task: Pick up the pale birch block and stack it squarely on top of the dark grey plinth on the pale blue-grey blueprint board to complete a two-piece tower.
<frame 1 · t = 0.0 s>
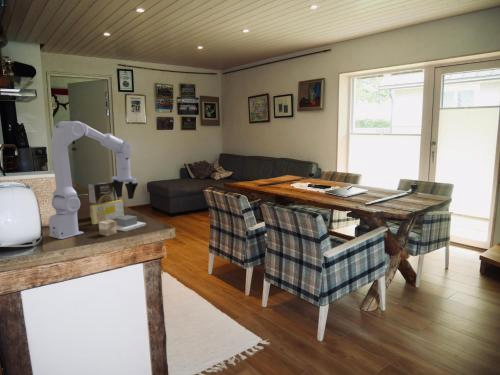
hand: (125, 197, 161), 10 cm above the countertop, tool pointing down, fingers open, 7 cm apart
birch block: (108, 233, 141), on the countertop
blueprint board: (127, 226, 151), on the countertop
candy box: (108, 220, 162), on the countertop
coffee box: (102, 217, 168), on the countertop
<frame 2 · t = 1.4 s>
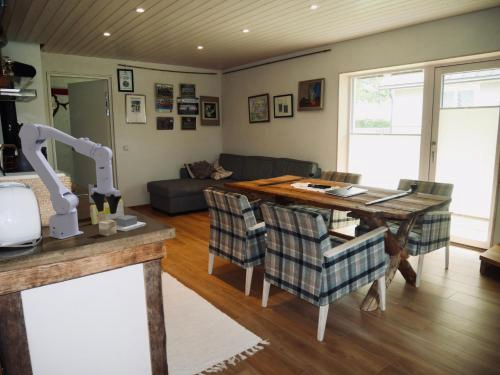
hand: (106, 212, 140), 8 cm above the countertop, tool pointing down, fingers open, 7 cm apart
nothing on the countertop moved.
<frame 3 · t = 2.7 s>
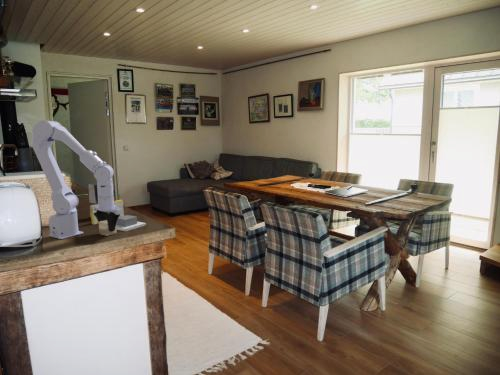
hand: (107, 230, 141), 1 cm above the countertop, tool pointing down, fingers closed on birch block, 4 cm apart
birch block: (108, 233, 141), on the countertop, touching gripper
everything else where it was.
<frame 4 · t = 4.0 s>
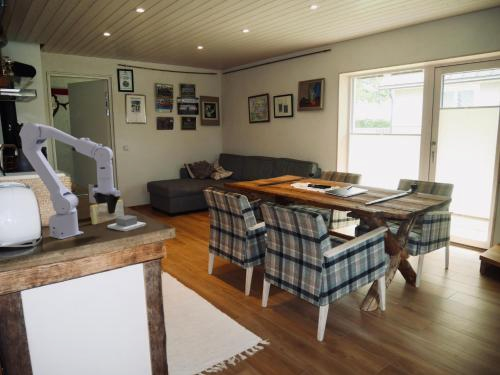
hand: (107, 212, 140), 8 cm above the countertop, tool pointing down, fingers closed on birch block, 4 cm apart
birch block: (107, 216, 140), point 7 cm above the countertop, touching gripper
everything else where it was.
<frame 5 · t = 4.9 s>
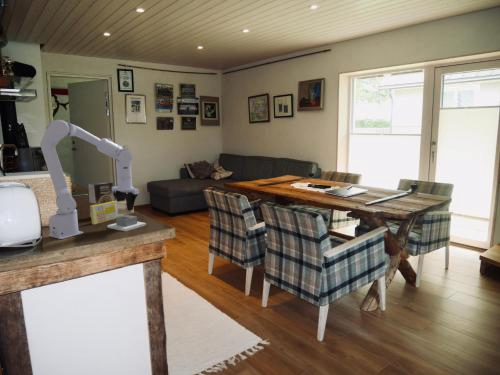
hand: (126, 209, 150), 7 cm above the countertop, tool pointing down, fingers closed on birch block, 4 cm apart
birch block: (126, 213, 150), point 6 cm above the countertop, touching gripper
everything else where it was.
when the fingers open (7 cm above the countertop, at t = 5.5 s): birch block stays where it is, resting on blueprint board.
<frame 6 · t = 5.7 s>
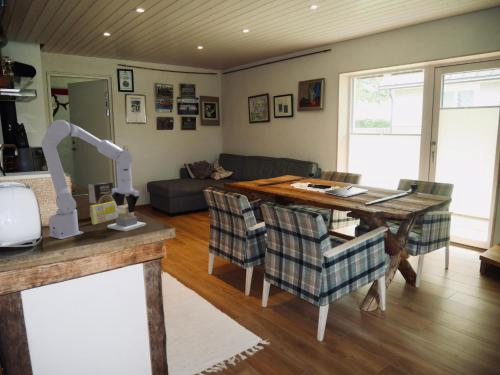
hand: (126, 211, 150), 7 cm above the countertop, tool pointing down, fingers open, 6 cm apart
birch block: (126, 217, 150), point 4 cm above the countertop, touching blueprint board
everything else where it was.
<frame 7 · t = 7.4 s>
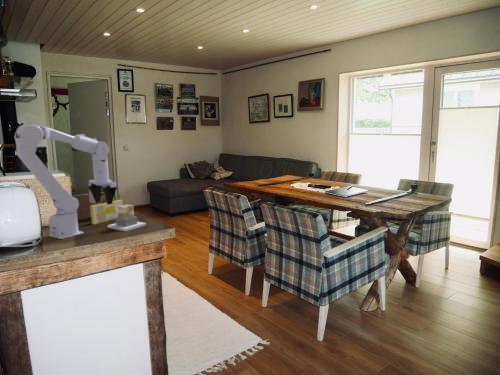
hand: (103, 203, 148), 10 cm above the countertop, tool pointing down, fingers open, 7 cm apart
nothing on the countertop moved.
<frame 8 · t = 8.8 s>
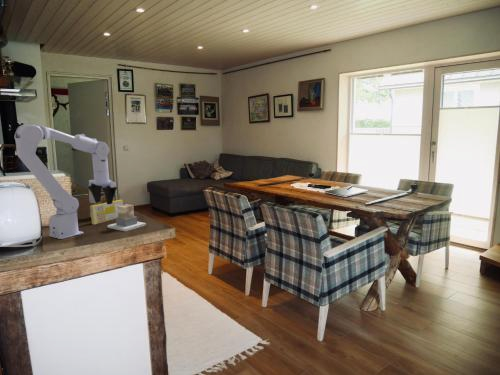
hand: (103, 203, 148), 10 cm above the countertop, tool pointing down, fingers open, 7 cm apart
nothing on the countertop moved.
at the end: birch block 0.2 cm off-centre on the blueprint board, point 4.0 cm above the blueprint board's base; birch block tilted 0°; the gripper is holding nothing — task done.
